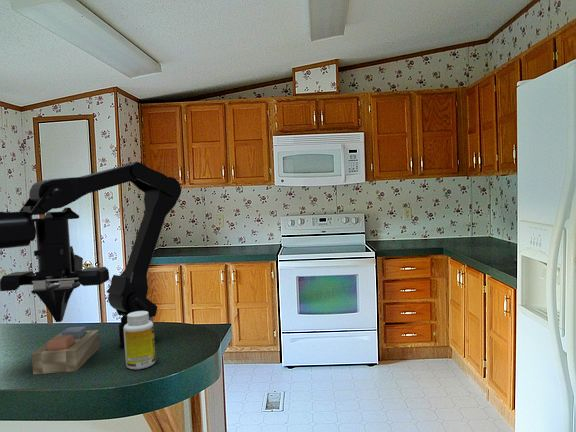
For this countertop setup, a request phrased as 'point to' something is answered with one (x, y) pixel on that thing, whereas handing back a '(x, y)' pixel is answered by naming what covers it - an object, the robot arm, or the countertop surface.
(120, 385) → the countertop surface
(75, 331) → the light blue square block
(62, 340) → the key terracotta
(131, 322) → the supplement bottle
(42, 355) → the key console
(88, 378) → the countertop surface
